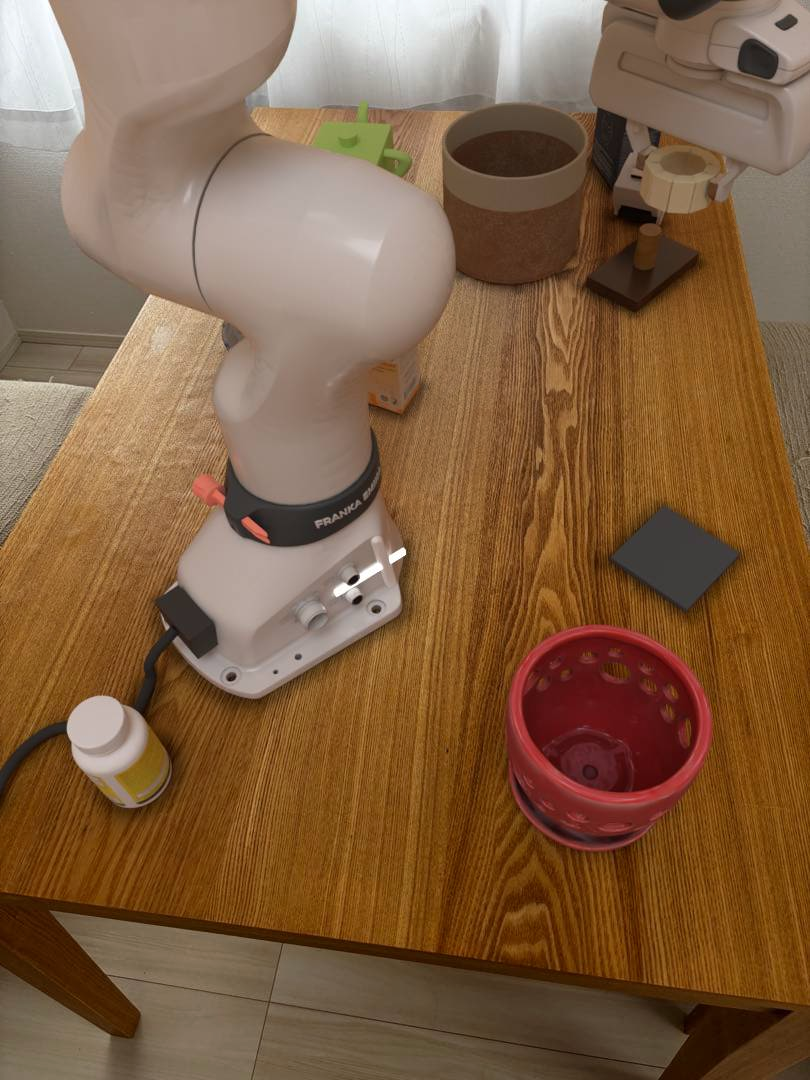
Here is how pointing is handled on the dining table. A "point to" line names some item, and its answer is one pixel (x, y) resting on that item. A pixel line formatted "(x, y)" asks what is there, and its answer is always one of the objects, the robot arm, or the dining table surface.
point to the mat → (674, 558)
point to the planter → (514, 190)
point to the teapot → (364, 142)
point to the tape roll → (678, 178)
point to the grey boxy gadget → (633, 197)
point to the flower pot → (602, 736)
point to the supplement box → (394, 382)
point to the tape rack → (642, 269)
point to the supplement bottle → (118, 751)
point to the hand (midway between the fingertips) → (679, 182)
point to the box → (614, 144)
